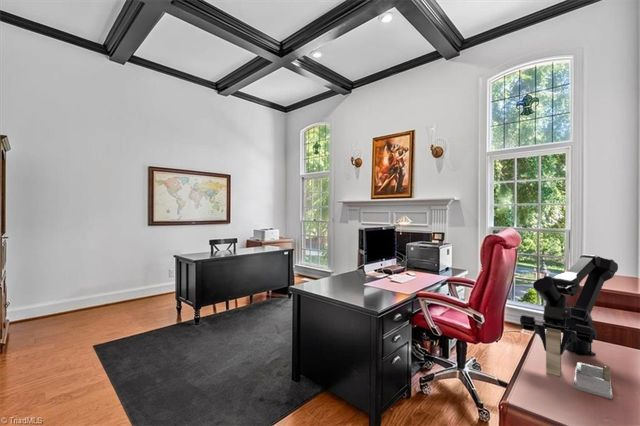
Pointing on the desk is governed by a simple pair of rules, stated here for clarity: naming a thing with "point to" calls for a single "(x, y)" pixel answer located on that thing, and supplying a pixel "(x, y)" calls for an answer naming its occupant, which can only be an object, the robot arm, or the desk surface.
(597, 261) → the robot arm
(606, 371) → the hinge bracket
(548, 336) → the tan wooden block
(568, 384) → the desk surface
